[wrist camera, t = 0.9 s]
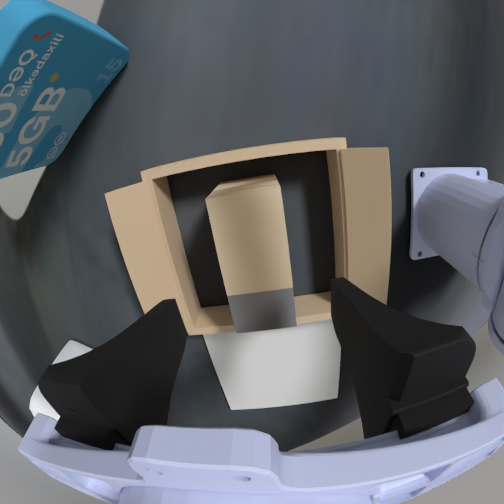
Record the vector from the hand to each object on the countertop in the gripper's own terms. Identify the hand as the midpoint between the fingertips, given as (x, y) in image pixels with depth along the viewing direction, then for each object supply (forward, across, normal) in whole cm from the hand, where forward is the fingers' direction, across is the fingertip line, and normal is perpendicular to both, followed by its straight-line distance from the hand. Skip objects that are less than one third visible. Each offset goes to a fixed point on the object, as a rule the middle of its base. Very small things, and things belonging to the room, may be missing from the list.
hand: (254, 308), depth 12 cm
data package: (+10, +13, -15) cm, 22 cm away
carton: (+10, 0, 0) cm, 10 cm away
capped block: (+10, 0, 0) cm, 10 cm away
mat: (+10, 0, +15) cm, 18 cm away
